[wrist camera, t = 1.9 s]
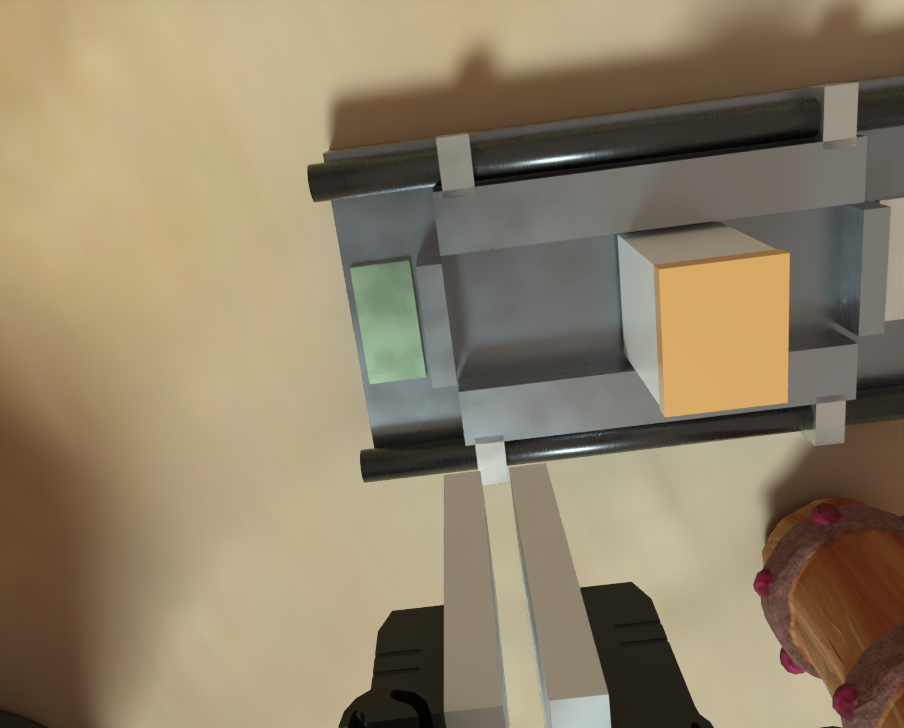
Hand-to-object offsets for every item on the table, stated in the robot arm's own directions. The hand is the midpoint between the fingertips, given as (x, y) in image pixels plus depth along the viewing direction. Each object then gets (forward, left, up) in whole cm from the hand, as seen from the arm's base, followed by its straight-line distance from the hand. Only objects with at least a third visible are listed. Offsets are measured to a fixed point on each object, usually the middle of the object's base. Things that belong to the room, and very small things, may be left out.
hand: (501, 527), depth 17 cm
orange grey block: (+8, 0, -17) cm, 19 cm away
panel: (+7, 0, -18) cm, 20 cm away
